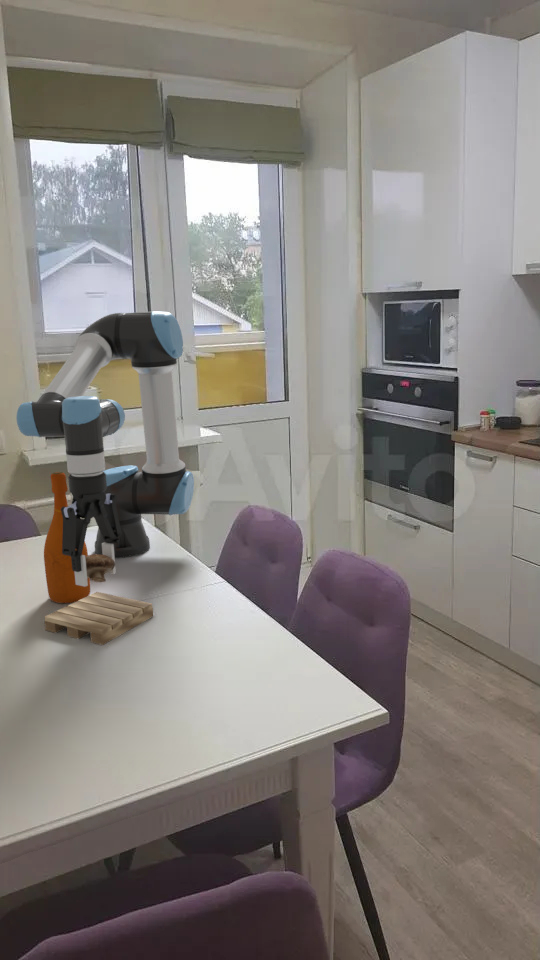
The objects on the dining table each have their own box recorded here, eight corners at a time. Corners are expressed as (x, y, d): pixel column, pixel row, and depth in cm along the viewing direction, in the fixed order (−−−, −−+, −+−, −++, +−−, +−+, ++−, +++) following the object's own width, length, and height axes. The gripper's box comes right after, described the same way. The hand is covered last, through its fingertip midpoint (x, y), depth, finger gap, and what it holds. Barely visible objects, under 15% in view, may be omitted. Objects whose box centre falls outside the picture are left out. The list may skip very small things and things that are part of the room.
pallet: (98, 603, 170) (97, 591, 169) (153, 616, 162) (152, 603, 161) (45, 630, 156) (43, 616, 156) (102, 645, 148) (101, 631, 147)
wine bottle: (66, 608, 167) (53, 478, 161) (39, 599, 173) (25, 474, 167) (100, 594, 175) (89, 470, 168) (73, 586, 181) (61, 466, 174)
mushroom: (108, 573, 150) (100, 545, 153) (73, 588, 151) (66, 560, 153) (124, 579, 158) (116, 552, 160) (91, 593, 159) (83, 566, 161)
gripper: (107, 462, 162) (116, 561, 167) (34, 481, 145) (46, 591, 150) (134, 464, 158) (141, 566, 163) (62, 485, 141) (73, 598, 146)
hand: (96, 578), depth 157 cm, fingers closed on mushroom, 8 cm apart
